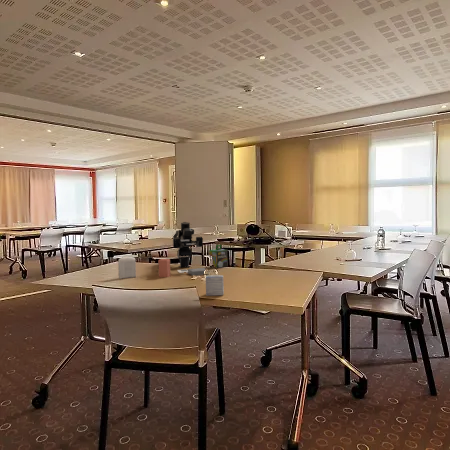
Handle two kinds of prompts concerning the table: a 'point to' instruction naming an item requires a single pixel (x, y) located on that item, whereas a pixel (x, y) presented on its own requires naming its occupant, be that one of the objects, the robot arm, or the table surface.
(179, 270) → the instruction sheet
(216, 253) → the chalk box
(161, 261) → the red block
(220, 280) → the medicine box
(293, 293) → the table surface
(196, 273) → the base brick
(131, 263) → the photo printer
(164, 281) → the table surface
